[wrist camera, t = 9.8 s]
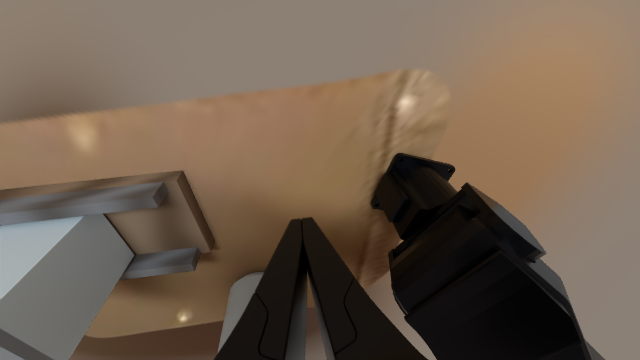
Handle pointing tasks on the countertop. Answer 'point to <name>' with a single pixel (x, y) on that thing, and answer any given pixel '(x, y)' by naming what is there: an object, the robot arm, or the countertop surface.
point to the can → (238, 302)
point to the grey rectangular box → (55, 283)
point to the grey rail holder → (126, 216)
